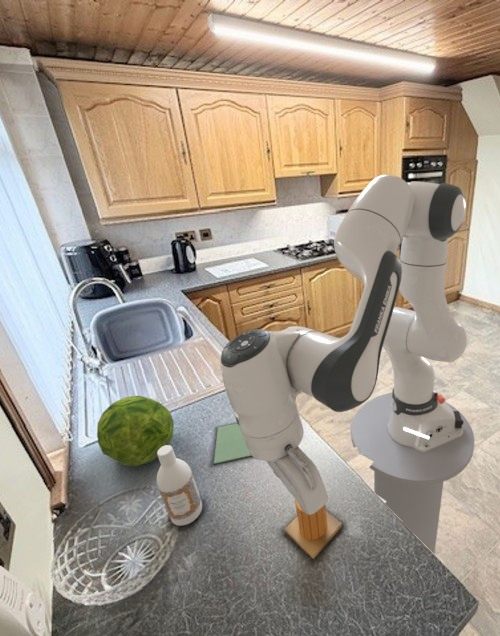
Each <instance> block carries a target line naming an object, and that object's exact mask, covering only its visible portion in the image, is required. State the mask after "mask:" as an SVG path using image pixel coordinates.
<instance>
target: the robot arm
mask: <svg viewBox="0 0 500 636" xmlns="http://www.w3.org/2000/svg"><path fill="white" fill-rule="evenodd" d="M466 203H467V202H466V196H465V193H464V192H463V190H462V189H461V188H460V186H457V185H454V184H450V183H446V182H442V183H435V182H429V181H415V180H414V181H413V180H412V181H410V182H409V181H407V182H406V180H405V179H403V178H401V177H400V176H397V175H394V174H382V175H378V176H375V177H374V178H373V179H372V180H371V181H370V182H369V183H368V184H367V185H366V186H365V187H364V188H363V190H361V192H360V193H359V194H358V196H357V198H355V199H354V201H353V203H352V204H351V206H350V207H349V209H348V210H347V212H346V214H345V216H344V217H343V219H342V220H341V222H340V224H339V226H338V228H337V230H336V232H335V236H334V240H333V246H334V252H335V255H336V258H337V260H338V262H339V263H340V265H341V266H342V267H343V268H344V269H345V270H346V271H347V272H348V273H349V274H350V275H351V276H353V278H355V279H356V280H358V281H359V282H361V283H362V285H363V290H362V293H361V294H362V295H361V297H360V300H359V303H358V306H357V307H356V311H355V314H354V317H353V319H352V322H351V326H350V329H349V331H348V332H347V334H346V335H344V336H341V337H337V336H334V335H330V334H326V333H324V332H322V331H318V330H316V329H312V328H309V327H306V326H300V325H291V326H287V327H285V328H282V329H281V330H274V331H273V330H266V329H264V328H254V329H253V328H252V329H250V330H246V331H243V332H241V333H239V334H238V335H236V336H235V337H233V338H232V339H230V340H229V341H228V342H227V343H226V345H224V347H223V349H222V351H221V354H220V359H219V367H220V368H219V369H220V375H221V378H222V383H223V387H224V390H225V392H226V396H227V399H228V401H229V404H230V406H231V408H232V410H233V411H234V412H235V414H234V418H235V421H236V424H238V425H239V427H240V430H241V432H242V435H243V437H244V440H245V443H246V445H247V448H248V450H249V452H250V454H251V455H252V456H251V457H252V458H254V459H256V460H259V461H264V462H266V464H267V465H268V466H269V467H270V469H271V470H272V472H273V474H274V475H275V476H276V478H278V479H279V481H280V482H281V483H282V484H283V485H284V487H285V488H286V489H287V490H288V492H289V493H290V494H291V495H292V497H293V498H294V500H295V499H296V501H297V502H298V503H299V505H300V507H301V508H302V510H303V511H304V512H305V513H306V514H308V515H312V514H314V513H315V512H317V511H318V510H319V509H321V508H322V507H323V506H324V505H325V506H326V505H327V503H328V501H329V496H328V493H327V490H326V487H325V484H324V481H323V479H322V476H321V473H320V471H319V469H318V467H317V466H316V464H315V463H314V462H313V461H312V459H311V458H310V457H309V455H307V454H306V453H305V452H304V451H303V450H302V449H301V448H300V447H299V445H300V444H301V442H302V441H303V437H304V433H305V431H304V430H305V429H304V427H303V423H302V420H301V415H300V412H299V408H298V404H297V401H296V399H297V396H298V395H300V394H301V393H303V394H305V395H307V396H309V397H311V398H314V400H316V401H318V402H319V403H321V405H324V406H325V407H327V408H328V409H330V410H331V411H333V412H336V413H344V412H348V411H351V410H354V409H355V408H357V407H359V406H362V404H365V403H366V401H369V398H370V397H371V396H372V394H373V392H374V391H375V388H376V385H377V381H378V375H379V369H380V361H381V354H382V350H383V348H384V350H385V352H386V354H387V356H388V358H389V361H390V363H391V366H392V370H393V388H392V392H391V393H392V414H391V417H390V420H389V423H388V426H387V430H388V433H389V435H390V436H391V438H392V439H393V440H395V441H396V442H397V443H399V444H401V445H404V446H407V447H411V448H414V449H416V450H418V451H419V452H422V453H425V452H428V451H430V450H432V449H434V448H437V447H439V446H441V445H443V444H446V443H448V442H450V441H452V440H455V439H457V438H459V437H461V436H463V427H462V425H463V420H462V419H461V416H460V413H461V412H460V411H459V410H458V411H453V410H452V409H451V407H450V406H449V405H448V404H449V403H448V402H447V401H446V398H445V397H444V396H443V395H442V394H439V391H438V390H437V389H436V388H435V387H434V386H435V376H436V375H435V370H434V367H433V365H432V364H431V362H430V361H429V360H431V361H434V362H443V363H454V362H456V361H458V360H459V359H460V358H461V357H462V356H463V354H464V353H465V351H466V350H467V349H466V348H467V344H468V335H467V333H466V331H465V328H464V327H463V325H461V324H460V323H459V322H458V320H457V319H456V318H455V316H454V315H453V313H452V311H451V309H450V307H449V305H448V302H447V298H446V272H447V264H448V263H447V262H448V253H449V252H448V249H449V238H452V237H453V236H455V235H456V234H457V233H458V231H460V229H461V227H462V225H463V222H464V219H465V217H466V216H465V215H466ZM400 244H401V247H400V254H399V257H398V255H397V252H398V249H399V246H400ZM399 293H400V295H401V297H403V299H405V300H406V301H407V302H408V303H409V304H410V305H411V307H412V309H413V310H412V309H408V308H405V307H401V306H395V305H396V302H397V299H398V296H399V295H398V294H399ZM446 402H447V403H448V404H447V403H446ZM459 412H460V413H459Z"/></svg>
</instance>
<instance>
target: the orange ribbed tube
mask: <svg viewBox="0 0 500 636" xmlns="http://www.w3.org/2000/svg"><path fill="white" fill-rule="evenodd" d="M294 502H295V508H296V515H297V516H298V522H299V529H300V533H301V535H302V536H303V537H304V538H305V539H309V540H315V539H318V538H320V537H321V536H322V535H323V534H324V533H325V531H326V528H327V518H326V511H327V508H326V504H325V505H324V506H323V507H322V508H321V509H319V510H318V511H317V512H315V513H314V514H312V515H308V514H306V513H305V512H304V511H303V510H302V508H301V507H300V505H299V503H298V502H297V501H296V499H295V498H294ZM297 516H296V517H297Z"/></svg>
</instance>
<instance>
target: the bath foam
mask: <svg viewBox="0 0 500 636" xmlns="http://www.w3.org/2000/svg"><path fill="white" fill-rule="evenodd" d="M157 455H158V457H157V458H158V461H159V462H160V466H159V469H158V471H157V474H156V485H157V490H158V491H159V494H160V497H161V499H162V502H163V504H164V506H165V509H166V511H167V513H168V516H169V518H170V521H171V522H172V524H174V525H176V526H179V527H181V526H182V527H183V526H187V525H189V524H191V523H193V522H194V521H195V520H196V519H198V518H199V516H200V515H201V512H202V509H203V502H202V499H201V495H200V493H199V490H198V487H197V484H196V481H195V477H194V475H193V472H192V469H191V467H190V466H189V464H188V462H186V461H184V460H182V459H180V458H178V457H176V454H175V452H174V449H173V446H172V445H170V444H169V445H166V446H163V447H161V448H160V449H159V450H158V452H157Z"/></svg>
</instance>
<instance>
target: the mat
mask: <svg viewBox="0 0 500 636" xmlns="http://www.w3.org/2000/svg"><path fill="white" fill-rule="evenodd" d="M216 431H217V432H216V441H215V448H214V449H215V450H214V458H213V459H214V460H213V464H214V465H216V464H221V463H226V462H230V461H235V460H239V459H245V458H248V457H253V456H252V455H251V454H250V452H249V450H248V448H247V445H246V443H245V440H244V437H243V435H242V432H241V430H240V427H239V425H238V423H233V424H229V425H223V426H218V427H217V430H216Z"/></svg>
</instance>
